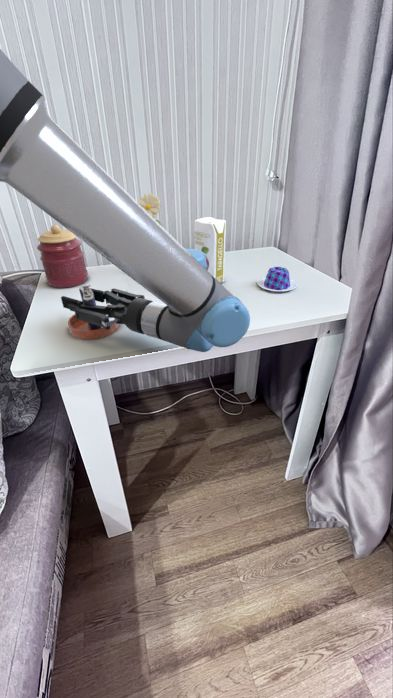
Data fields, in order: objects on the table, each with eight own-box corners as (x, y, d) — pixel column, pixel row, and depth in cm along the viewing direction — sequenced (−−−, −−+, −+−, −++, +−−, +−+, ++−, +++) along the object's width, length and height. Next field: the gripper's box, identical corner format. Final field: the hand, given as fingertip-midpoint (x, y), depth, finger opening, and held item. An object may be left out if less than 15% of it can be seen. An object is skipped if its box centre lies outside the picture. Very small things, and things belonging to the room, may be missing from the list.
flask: (85, 318, 84) (76, 279, 78) (97, 316, 85) (89, 277, 79) (91, 335, 77) (82, 293, 71) (103, 332, 78) (95, 291, 72)
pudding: (304, 288, 98) (307, 271, 96) (274, 296, 94) (276, 279, 91) (278, 275, 107) (280, 260, 104) (249, 283, 102) (250, 267, 100)
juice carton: (208, 275, 109) (208, 215, 98) (227, 282, 103) (229, 219, 93) (191, 281, 104) (190, 219, 94) (211, 289, 99) (211, 224, 88)
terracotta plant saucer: (95, 344, 74) (93, 336, 73) (59, 331, 79) (57, 323, 78) (128, 321, 83) (127, 314, 82) (94, 311, 88) (93, 304, 87)
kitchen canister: (54, 274, 111) (39, 220, 102) (92, 272, 112) (81, 219, 102) (41, 289, 101) (24, 231, 91) (83, 287, 101) (70, 229, 91)
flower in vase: (127, 271, 113) (116, 193, 98) (152, 263, 119) (145, 188, 105) (152, 280, 105) (144, 197, 91) (177, 271, 112) (173, 192, 98)
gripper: (123, 354, 65) (46, 326, 75) (174, 315, 78) (103, 296, 88) (117, 321, 61) (36, 297, 70) (172, 286, 74) (98, 269, 84)
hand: (73, 296), depth 79 cm, fingers closed on flask, 6 cm apart
